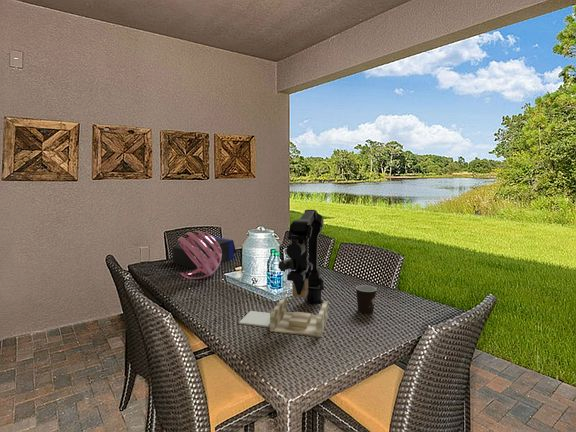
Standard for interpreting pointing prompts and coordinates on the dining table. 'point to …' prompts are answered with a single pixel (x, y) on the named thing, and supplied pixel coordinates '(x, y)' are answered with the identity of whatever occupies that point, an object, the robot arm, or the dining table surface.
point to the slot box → (298, 320)
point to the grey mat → (256, 319)
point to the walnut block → (304, 290)
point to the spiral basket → (201, 253)
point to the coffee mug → (365, 298)
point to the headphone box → (184, 259)
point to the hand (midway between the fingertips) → (300, 292)
